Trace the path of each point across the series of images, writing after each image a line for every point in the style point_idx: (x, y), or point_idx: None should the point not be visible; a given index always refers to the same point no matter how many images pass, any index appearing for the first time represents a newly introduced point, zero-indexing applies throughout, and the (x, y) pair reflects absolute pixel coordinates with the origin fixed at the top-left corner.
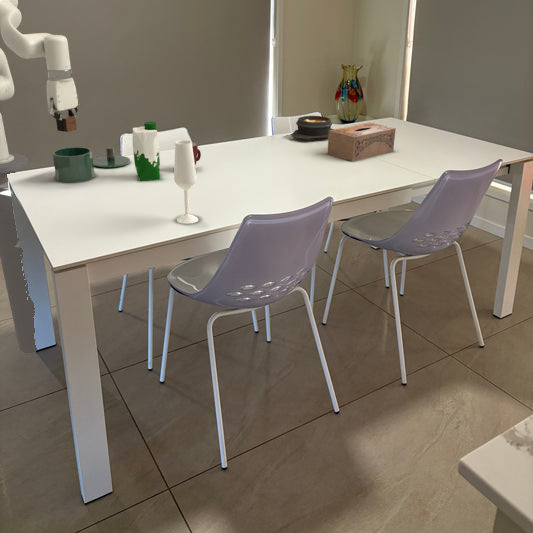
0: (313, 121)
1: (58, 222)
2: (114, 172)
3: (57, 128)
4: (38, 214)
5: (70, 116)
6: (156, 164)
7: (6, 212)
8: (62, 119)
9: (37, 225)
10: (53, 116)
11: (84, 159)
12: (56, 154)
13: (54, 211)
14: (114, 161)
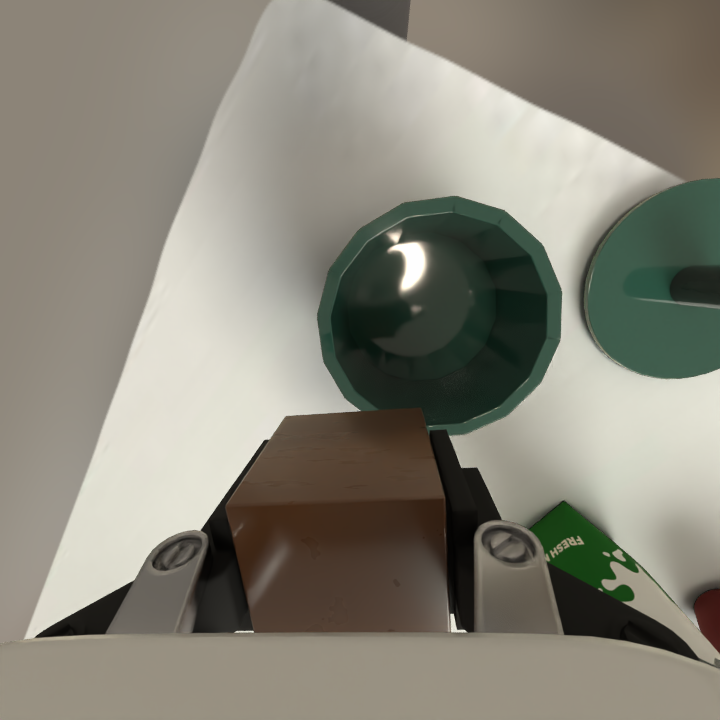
0: None
1: (107, 580)
2: (556, 398)
3: (259, 449)
4: (98, 500)
5: (410, 622)
6: None
7: (331, 2)
8: (248, 608)
9: (59, 554)
10: (93, 613)
11: None
12: (386, 233)
13: (142, 518)
14: (681, 313)
